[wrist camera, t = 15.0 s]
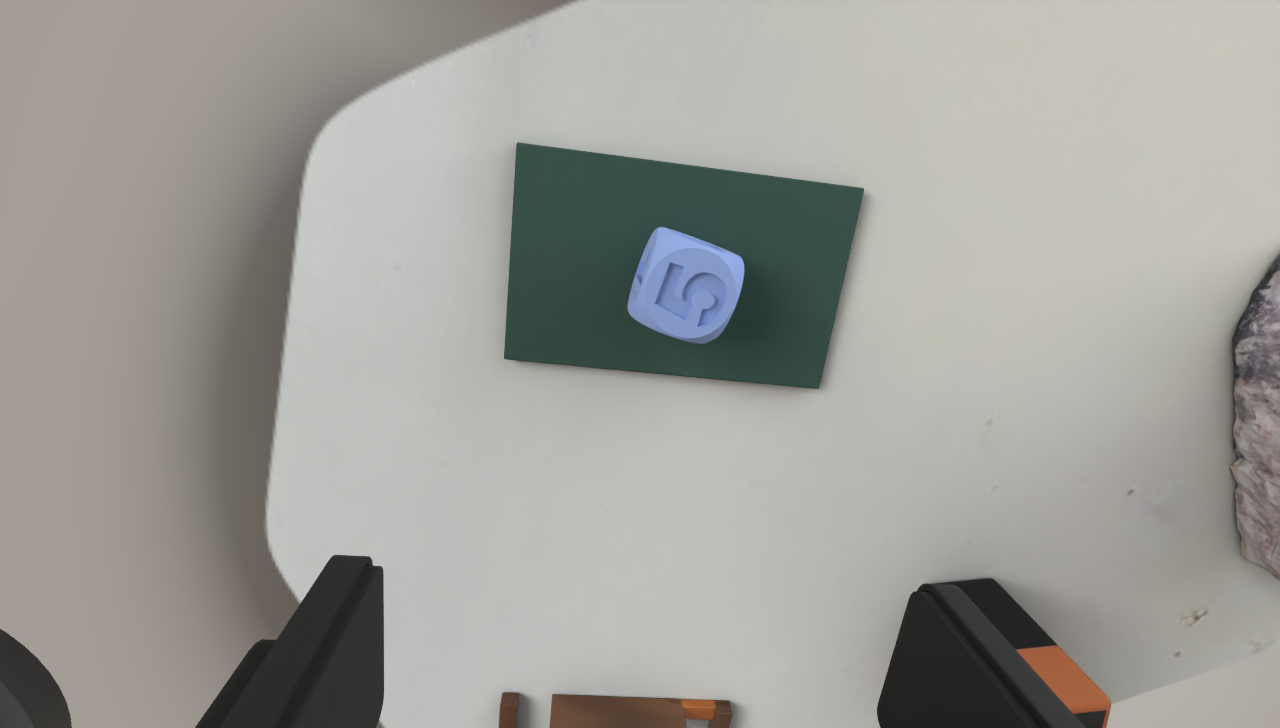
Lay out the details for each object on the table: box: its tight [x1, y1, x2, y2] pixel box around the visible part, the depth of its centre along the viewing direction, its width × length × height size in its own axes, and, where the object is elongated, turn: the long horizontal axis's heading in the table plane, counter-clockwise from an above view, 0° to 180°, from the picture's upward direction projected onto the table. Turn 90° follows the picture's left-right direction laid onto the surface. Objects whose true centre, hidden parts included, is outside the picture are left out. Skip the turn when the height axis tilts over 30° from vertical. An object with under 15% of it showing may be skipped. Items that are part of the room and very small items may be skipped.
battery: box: [938, 579, 1111, 728], centre depth 33 cm, size 4×7×10 cm, turn 4°
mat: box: [504, 143, 864, 389], centre depth 29 cm, size 16×10×1 cm, turn 83°
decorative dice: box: [628, 227, 744, 344], centre depth 27 cm, size 4×4×4 cm
